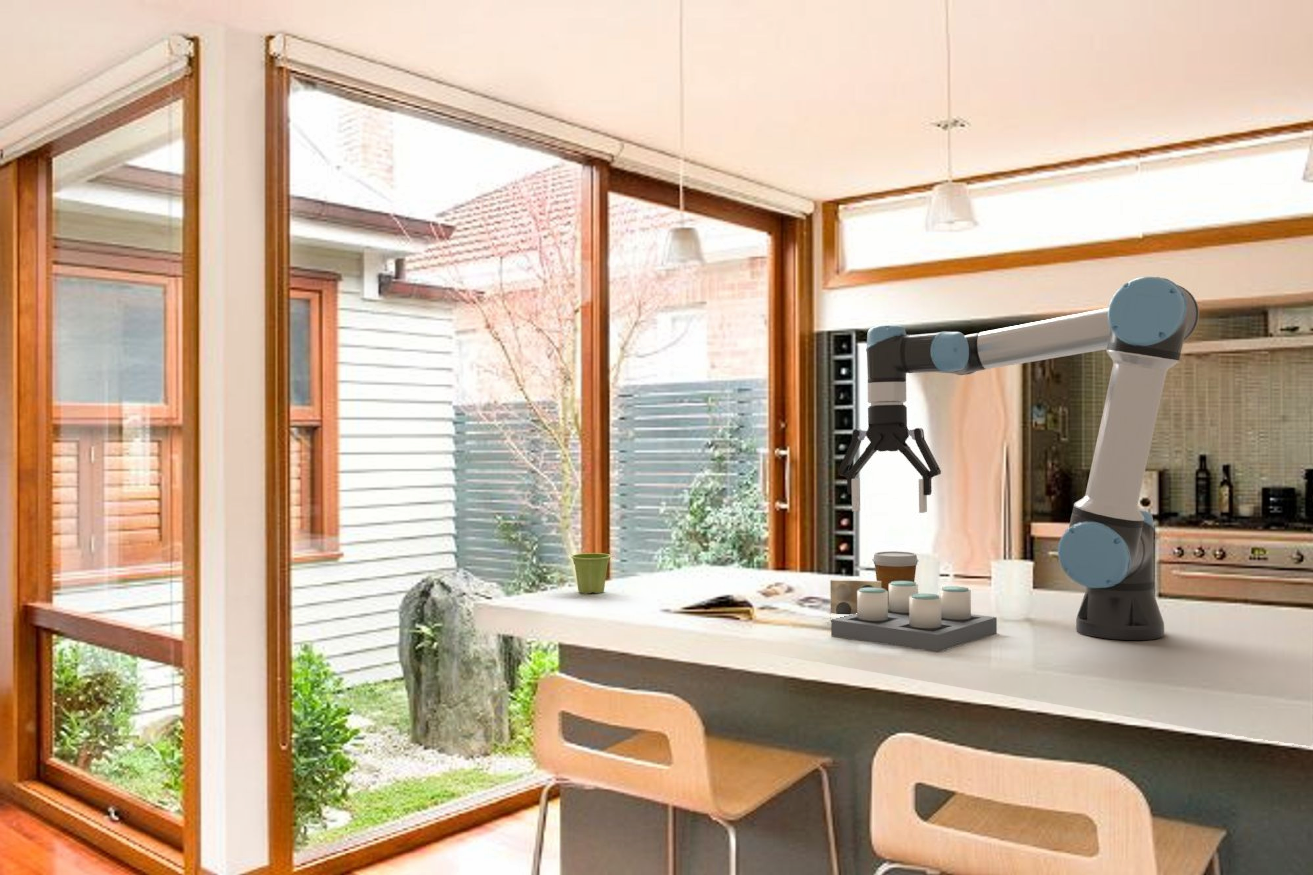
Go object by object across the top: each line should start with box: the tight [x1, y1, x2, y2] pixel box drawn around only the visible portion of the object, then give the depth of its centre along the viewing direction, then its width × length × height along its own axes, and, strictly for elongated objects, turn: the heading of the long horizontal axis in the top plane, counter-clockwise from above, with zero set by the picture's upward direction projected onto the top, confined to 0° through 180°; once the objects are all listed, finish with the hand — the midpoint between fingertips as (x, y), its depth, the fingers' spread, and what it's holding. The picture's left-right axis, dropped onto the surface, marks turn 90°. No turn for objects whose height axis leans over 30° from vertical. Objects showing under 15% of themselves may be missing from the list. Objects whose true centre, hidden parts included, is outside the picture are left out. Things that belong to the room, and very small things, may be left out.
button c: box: [909, 592, 942, 628], centre depth 194 cm, size 6×6×5 cm
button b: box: [889, 581, 919, 613], centre depth 210 cm, size 6×6×5 cm
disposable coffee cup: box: [871, 550, 919, 606], centre depth 228 cm, size 10×10×12 cm
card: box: [829, 579, 881, 614], centre depth 217 cm, size 10×1×8 cm, turn 76°
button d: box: [857, 587, 888, 621], centre depth 202 cm, size 6×6×5 cm
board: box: [830, 606, 998, 653], centre depth 202 cm, size 22×22×3 cm
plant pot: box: [571, 552, 612, 594], centre depth 257 cm, size 9×9×9 cm
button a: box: [939, 585, 972, 620], centre depth 202 cm, size 6×6×5 cm
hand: (889, 511), depth 214 cm, fingers open, 13 cm apart
